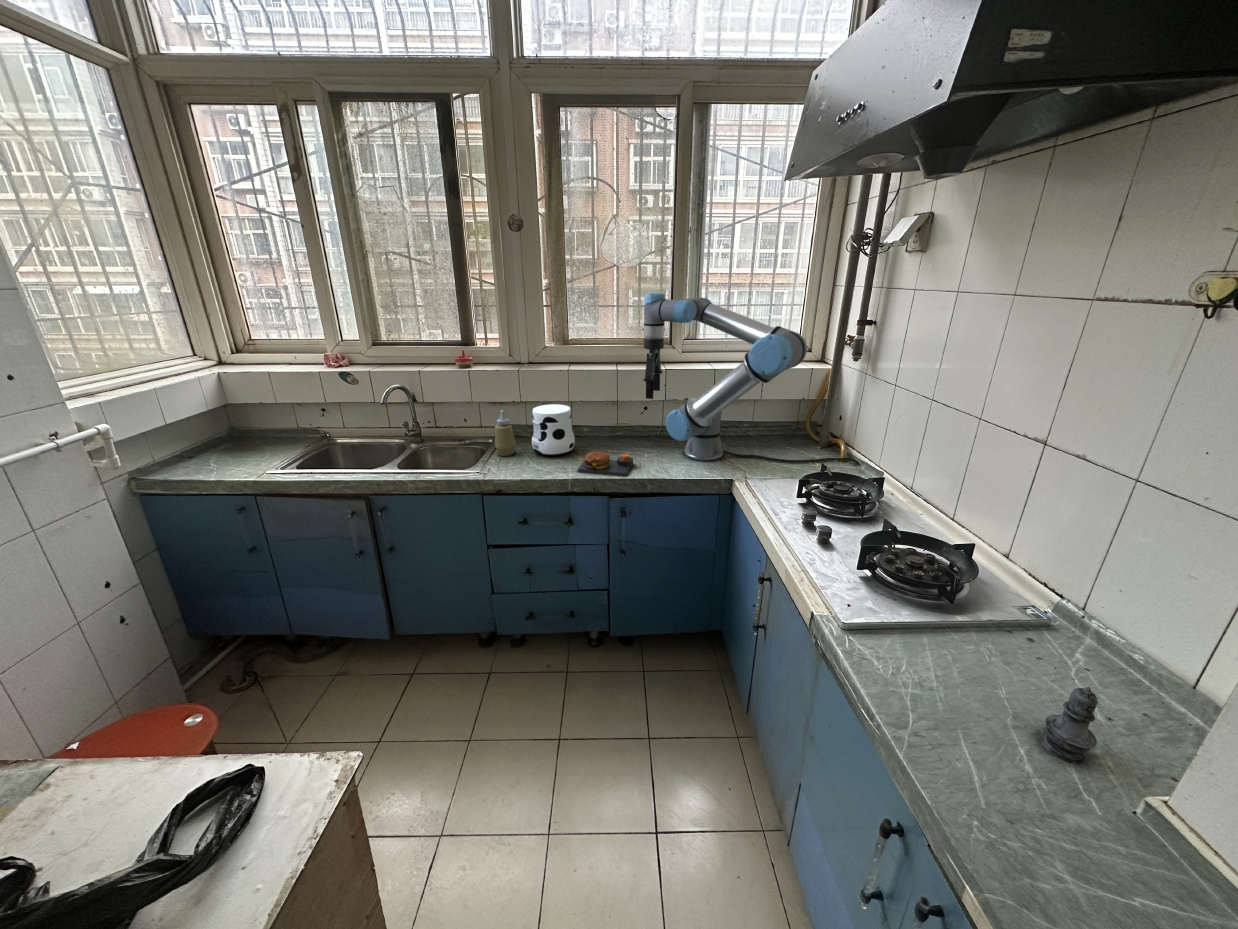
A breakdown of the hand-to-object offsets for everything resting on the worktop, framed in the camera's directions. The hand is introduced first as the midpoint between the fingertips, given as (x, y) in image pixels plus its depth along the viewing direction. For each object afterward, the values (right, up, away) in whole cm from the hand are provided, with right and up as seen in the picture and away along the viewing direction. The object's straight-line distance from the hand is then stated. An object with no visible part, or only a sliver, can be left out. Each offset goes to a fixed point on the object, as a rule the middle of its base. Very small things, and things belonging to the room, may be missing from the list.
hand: (653, 394), depth 190 cm
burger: (-21, -27, -4) cm, 35 cm away
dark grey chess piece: (+55, -70, -114) cm, 145 cm away
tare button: (-11, -25, -3) cm, 27 cm away
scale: (-18, -28, -4) cm, 34 cm away
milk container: (-40, -22, +14) cm, 47 cm away
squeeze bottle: (-59, -23, +12) cm, 64 cm away
